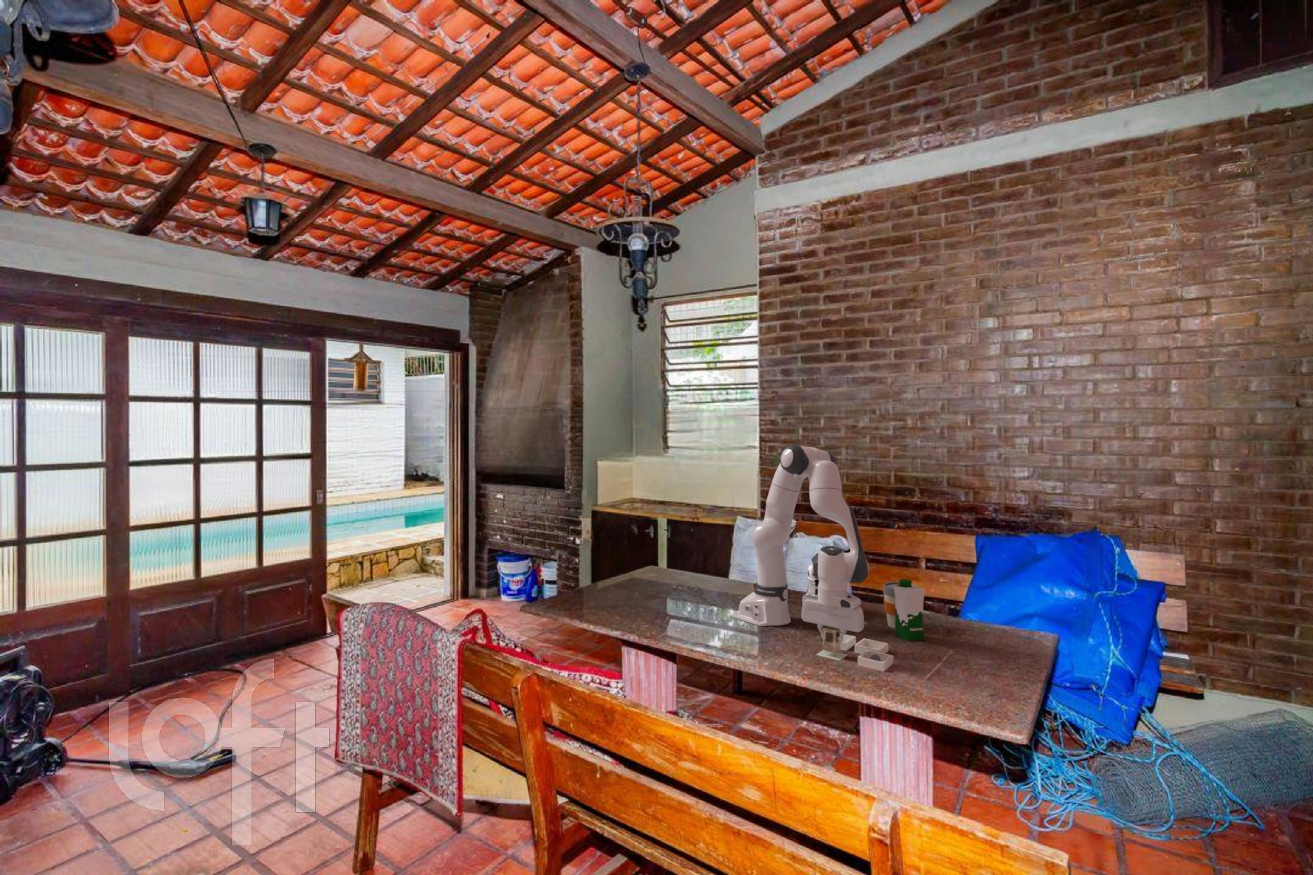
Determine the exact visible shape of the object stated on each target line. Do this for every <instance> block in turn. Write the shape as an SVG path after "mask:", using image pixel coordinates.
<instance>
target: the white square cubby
mask: <svg viewBox="0 0 1313 875" xmlns="http://www.w3.org/2000/svg"><path fill="white" fill-rule="evenodd" d="M866 650H871V651H875V652H880V653H884V654H888V652H889V643H887V642H883V641H878V640H873V639H870V638H869V639H868V638H865V637H864V638H862V639H861V640H859V641H858V642H856V644H855V645H854V653H855V654H859V655H861V654H862V653H864V652H865V651H866Z"/></svg>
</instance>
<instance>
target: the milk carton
mask: <svg viewBox="0 0 1313 875" xmlns="http://www.w3.org/2000/svg"><path fill="white" fill-rule="evenodd" d="M898 582H899V585H896V586H893V587H894V593H895V628H894V636H895V637H896V638H899V639H903V640H906V642H911V641H915V642H918V641H919V642H920V641H925V630H924V629H925V628H924V598H925V595H926V589H925V588H923V587H920V586H918V585H916V584H913V583H912V580H911V579H907V578H900V579H899V580H898ZM912 584H913V585H912ZM915 585H916V586H915Z"/></svg>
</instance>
